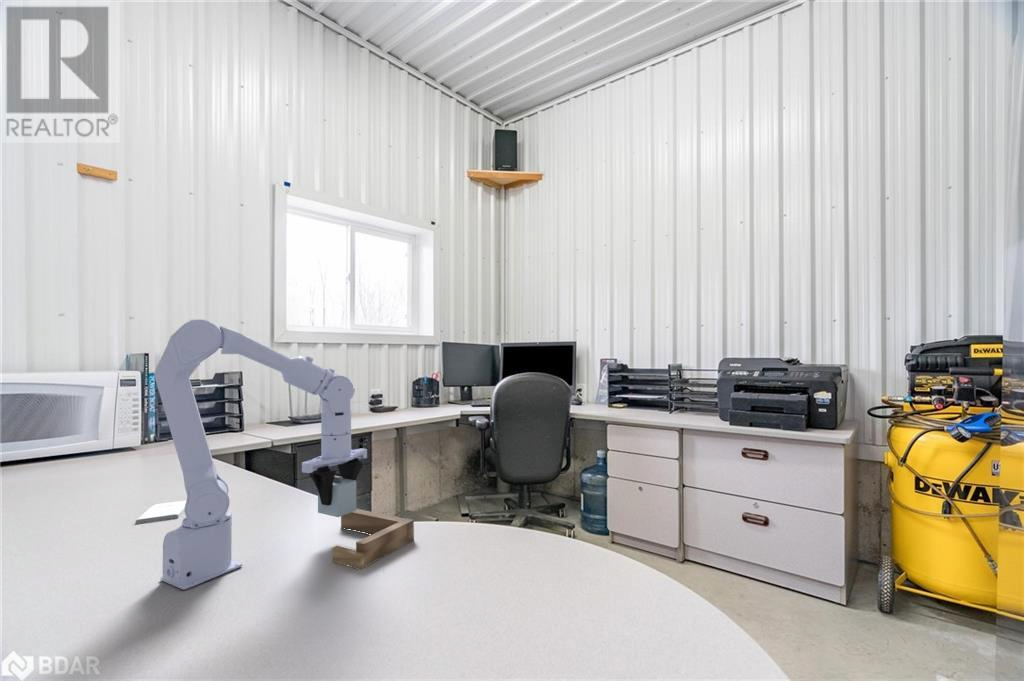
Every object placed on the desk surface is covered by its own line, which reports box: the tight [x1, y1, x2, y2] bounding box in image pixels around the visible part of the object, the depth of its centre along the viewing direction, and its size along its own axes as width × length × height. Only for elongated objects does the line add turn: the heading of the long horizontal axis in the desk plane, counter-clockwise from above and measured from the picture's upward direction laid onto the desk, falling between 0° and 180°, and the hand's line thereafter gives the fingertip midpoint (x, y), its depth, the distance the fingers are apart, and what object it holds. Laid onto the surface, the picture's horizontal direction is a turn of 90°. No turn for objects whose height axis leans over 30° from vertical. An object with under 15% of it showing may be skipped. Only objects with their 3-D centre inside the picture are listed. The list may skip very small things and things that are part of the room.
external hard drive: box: [135, 499, 187, 525], centre depth 110 cm, size 2×8×12 cm
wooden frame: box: [331, 508, 415, 570], centre depth 88 cm, size 14×19×4 cm
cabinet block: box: [317, 475, 357, 518], centre depth 90 cm, size 4×6×7 cm
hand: (336, 500), depth 90 cm, fingers closed on cabinet block, 4 cm apart
